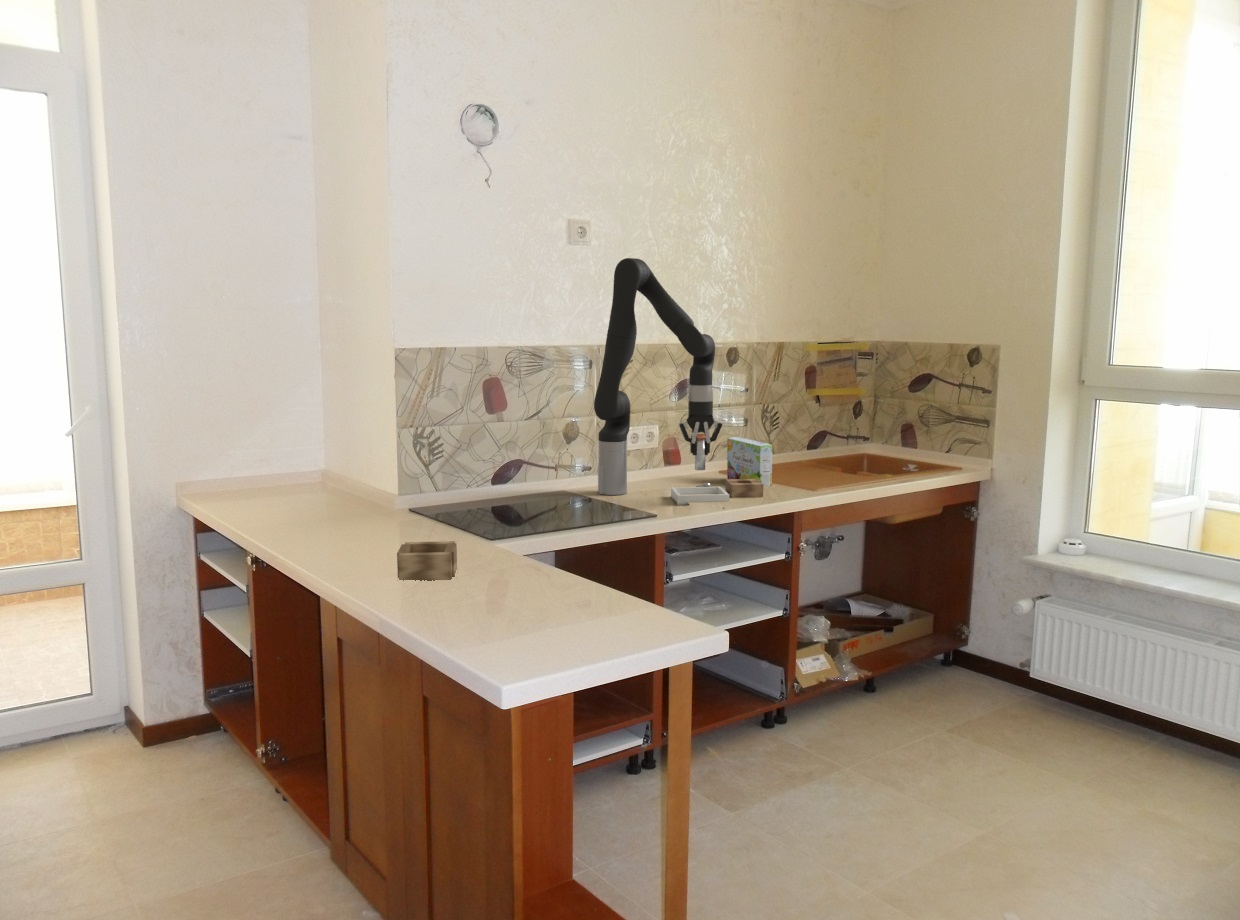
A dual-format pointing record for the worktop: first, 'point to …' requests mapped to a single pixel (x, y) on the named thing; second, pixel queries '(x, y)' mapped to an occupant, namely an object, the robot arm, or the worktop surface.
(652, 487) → the worktop surface
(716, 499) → the tray
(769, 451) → the snack box
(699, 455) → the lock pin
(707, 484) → the pulley
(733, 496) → the wooden box
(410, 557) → the box
